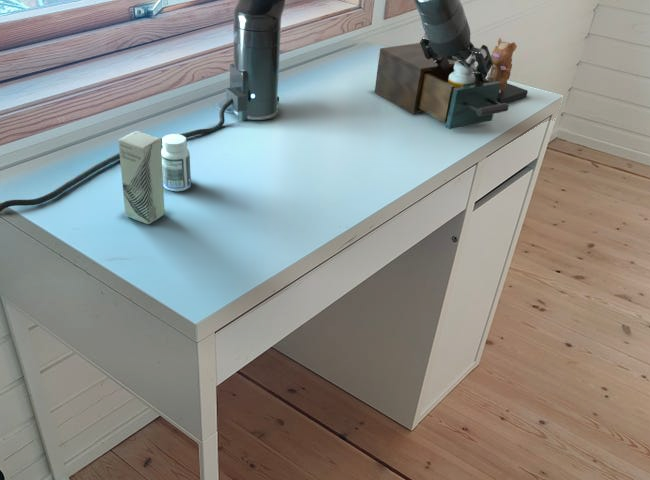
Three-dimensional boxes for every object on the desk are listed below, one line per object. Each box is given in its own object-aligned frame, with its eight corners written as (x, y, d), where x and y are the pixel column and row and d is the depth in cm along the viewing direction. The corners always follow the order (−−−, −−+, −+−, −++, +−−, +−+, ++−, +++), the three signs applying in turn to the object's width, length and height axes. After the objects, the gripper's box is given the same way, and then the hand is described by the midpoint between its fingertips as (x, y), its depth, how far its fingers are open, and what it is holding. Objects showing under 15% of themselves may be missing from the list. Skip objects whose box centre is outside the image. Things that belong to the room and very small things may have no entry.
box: (124, 216, 109) (115, 138, 101) (141, 205, 112) (134, 129, 103) (150, 226, 107) (143, 147, 99) (167, 214, 110) (162, 137, 102)
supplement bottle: (451, 104, 146) (461, 57, 140) (473, 111, 143) (483, 64, 137) (437, 110, 143) (446, 62, 137) (458, 117, 141) (468, 69, 134)
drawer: (510, 130, 139) (520, 91, 134) (467, 139, 135) (476, 100, 130) (450, 99, 152) (457, 62, 147) (409, 106, 147) (415, 69, 142)
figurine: (463, 92, 158) (475, 37, 150) (490, 84, 163) (503, 30, 155) (499, 106, 152) (513, 49, 144) (526, 97, 157) (541, 42, 149)
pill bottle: (177, 176, 120) (174, 130, 115) (196, 185, 118) (194, 138, 113) (157, 185, 117) (153, 138, 112) (177, 194, 115) (174, 147, 110)
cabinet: (458, 106, 151) (468, 61, 145) (412, 114, 146) (420, 68, 140) (418, 85, 161) (425, 41, 154) (374, 92, 156) (380, 48, 150)
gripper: (490, 13, 122) (504, 66, 136) (423, -2, 129) (443, 50, 144) (468, 50, 123) (484, 99, 137) (402, 33, 130) (424, 81, 144)
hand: (463, 74), depth 140 cm, fingers open, 8 cm apart
